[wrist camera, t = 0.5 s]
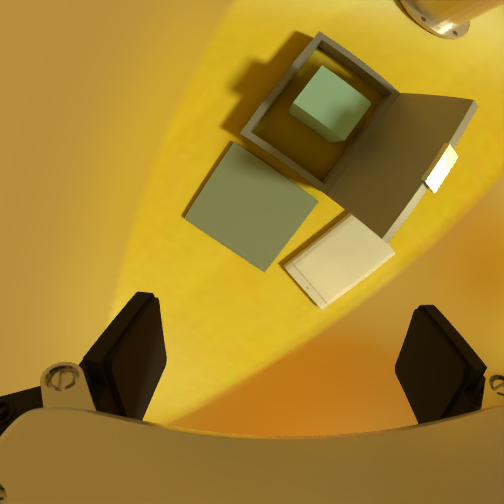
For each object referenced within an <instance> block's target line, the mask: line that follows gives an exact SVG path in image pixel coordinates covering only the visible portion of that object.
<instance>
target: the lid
mask: <svg viewBox="0 0 504 504" xmlns="http://www.w3.org/2000/svg"><path fill="white" fill-rule="evenodd" d="M477 107H478V106H477V104H476V103H475V101H474V100H470V99H463V98H456V97H447V96H437V95H425V94H409V93H400V94H399V96H398V97H397V99H396V100H395V101H394V103H393V104H392V106H391V107H390V109H389V110H388V111H387V113H386V114H385V116H384V117H383V118H382V120H381V121H380V123H379V124H378V125H377V127H376V128H375V130H374V131H373V132H372V134H371V135H370V136H369V138H368V139H367V141H366V142H365V143H364V145H363V146H362V147H361V149H360V150H359V152H358V153H357V154H356V156H355V157H354V158H353V160H352V161H351V163H350V164H349V165H348V167H347V168H346V169H345V171H344V172H343V173H342V175H341V176H340V177H339V179H338V180H337V181H336V183H335V184H334V186H333V187H332V188H331V190H330V191H329V192H328V194H327V196H329V197H330V198H331V199H332V200H334V201H335V202H336V203H338V204H339V205H340V206H342V207H343V208H344V209H345V210H347V211H348V212H349V213H350V214H352V215H353V216H354V217H355V218H357V219H358V220H359V221H360V222H362V223H363V224H364V225H365V226H367V227H368V228H369V229H370V230H371V231H373V232H374V233H375V234H376V235H377V236H379V237H380V238H381V239H382V240H383V241H385V242H386V243H387V244H388V242H389V241H390V240H391V238H392V237H393V236H394V234H395V233H396V232H397V230H398V229H399V228H400V226H401V225H402V224H403V222H404V221H405V220H406V218H407V217H408V216H409V214H410V213H411V212H412V210H413V209H414V207H415V206H416V205H417V203H418V202H419V200H420V199H421V197H422V196H423V195H424V193H425V192H426V190H427V189H429V190H430V191H431V192H433V193H435V192H436V191H437V189H438V188H439V186H440V185H441V183H442V182H443V180H444V179H445V177H446V176H447V174H448V172H449V171H450V169H451V168H452V166H453V165H454V163H455V161H456V160H457V158H458V156H457V154H456V153H455V151H454V147H455V145H456V144H457V142H458V141H459V139H460V137H461V135H462V134H463V132H464V130H465V129H466V127H467V125H468V123H469V122H470V120H471V118H472V116H473V115H474V113H475V111H476V109H477Z"/></svg>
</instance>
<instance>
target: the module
mask: <svg viewBox="0 0 504 504" xmlns="http://www.w3.org/2000/svg"><path fill="white" fill-rule="evenodd" d="M371 104H372V103H371V102H370V101H369V100H368V99H366V98H365V97H364V96H363V95H362V94H360V93H359V92H358V91H357V90H355V89H354V88H353V87H351V86H350V85H349V84H347V83H346V82H345V81H343V80H342V79H341V78H339V77H338V76H337V75H335V74H334V73H333V72H331V71H330V70H328V69H327V68H325V67H324V66H323V65H322V66H321V67H320V69H319V70H318V71H317V72H316V74H315V75H314V76H313V78H312V79H311V80H310V81H309V83H308V84H307V85H306V87H305V88H304V89H303V90H302V92H301V93H300V94H299V96H298V97H297V98H296V99H295V101H294V102H293V104H292V106H291V108H290V109H289V111H288V113H289V114H291V115H292V116H294V117H295V118H297V119H298V120H299V121H301V122H302V123H304V124H305V125H306V126H308V127H309V128H311V129H312V130H313V131H315V132H316V133H317V134H319V135H320V136H321V137H323V138H324V139H325V140H327V141H328V142H329V143H332V142H339V141H345V139H346V138H347V137H348V135H349V134H350V133H351V131H352V130H353V129H354V127H355V126H356V124H357V123H358V122H359V120H360V119H361V118H362V116H363V115H364V114H365V112H366V111H367V109H368V108H369V107H370V105H371Z"/></svg>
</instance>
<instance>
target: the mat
mask: <svg viewBox="0 0 504 504" xmlns="http://www.w3.org/2000/svg"><path fill="white" fill-rule="evenodd" d="M318 202H319V201H317V200H316V199H315V198H313V197H312V196H311V195H309V194H308V193H307V192H305V191H304V190H303V189H301V188H300V187H299V186H297V185H296V184H294V183H293V182H292V181H290V180H289V179H287V178H286V177H285V176H283V175H282V174H280V173H279V172H278V171H276V170H275V169H273V168H272V167H270V166H269V165H268V164H266V163H265V162H263V161H262V160H260V159H259V158H257V157H256V156H254V155H253V154H251V153H250V152H248V151H247V150H246V149H244V148H242V147H241V146H239V145H238V144H236V143H235V142H234V143H233V144H232V146H231V147H230V149H229V150H228V152H227V153H226V154H225V156H224V157H223V159H222V160H221V162H220V163H219V165H218V166H217V168H216V169H215V171H214V172H213V174H212V175H211V177H210V178H209V180H208V181H207V183H206V184H205V186H204V187H203V189H202V191H201V192H200V194H199V195H198V197H197V198H196V200H195V202H194V203H193V205H192V206H191V208H190V209H189V211H188V213H187V214H186V216H185V218H184V219H185V220H187V221H188V222H190V223H191V224H193V225H194V226H196V227H197V228H199V229H200V230H202V231H203V232H205V233H206V234H208V235H209V236H211V237H212V238H214V239H215V240H217V241H218V242H220V243H221V244H223V245H224V246H226V247H227V248H229V249H230V250H232V251H233V252H235V253H236V254H238V255H239V256H241V257H242V258H244V259H245V260H247V261H248V262H250V263H251V264H253V265H254V266H256V267H257V268H259V269H260V270H262V271H263V272H265V271H266V270H267V268H268V267H269V266H270V264H271V263H272V262H273V261H274V259H275V258H276V257H277V255H278V254H279V253H280V252H281V250H282V249H283V248H284V246H285V245H286V244H287V242H288V241H289V240H290V239H291V237H292V236H293V235H294V233H295V232H296V231H297V229H298V228H299V227H300V225H301V224H302V223H303V221H304V220H305V219H306V217H307V216H308V215H309V214H310V212H311V211H312V210H313V208H314V207H315V206H316V204H317V203H318Z"/></svg>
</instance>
